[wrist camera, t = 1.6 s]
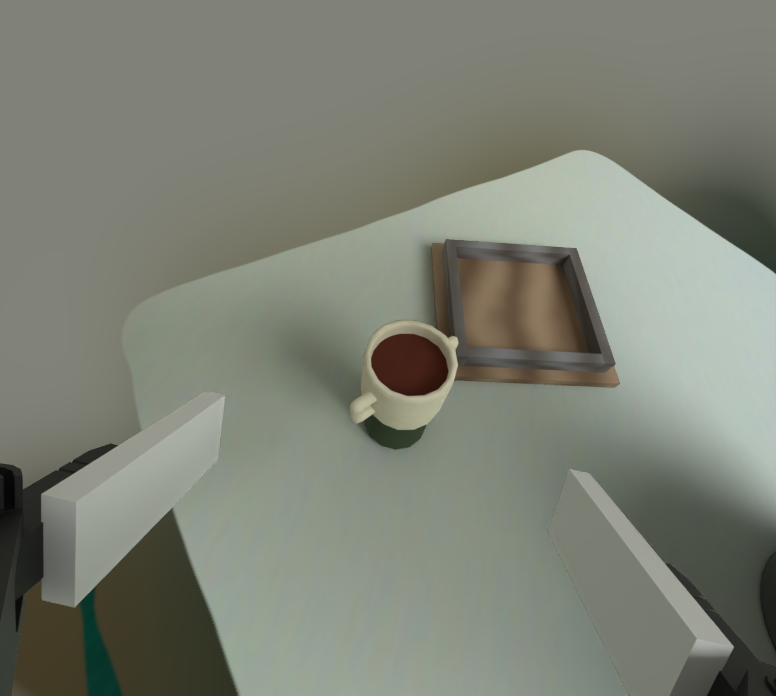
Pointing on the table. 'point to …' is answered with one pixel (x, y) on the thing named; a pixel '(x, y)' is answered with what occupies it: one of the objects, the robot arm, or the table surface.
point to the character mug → (404, 381)
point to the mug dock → (520, 314)
